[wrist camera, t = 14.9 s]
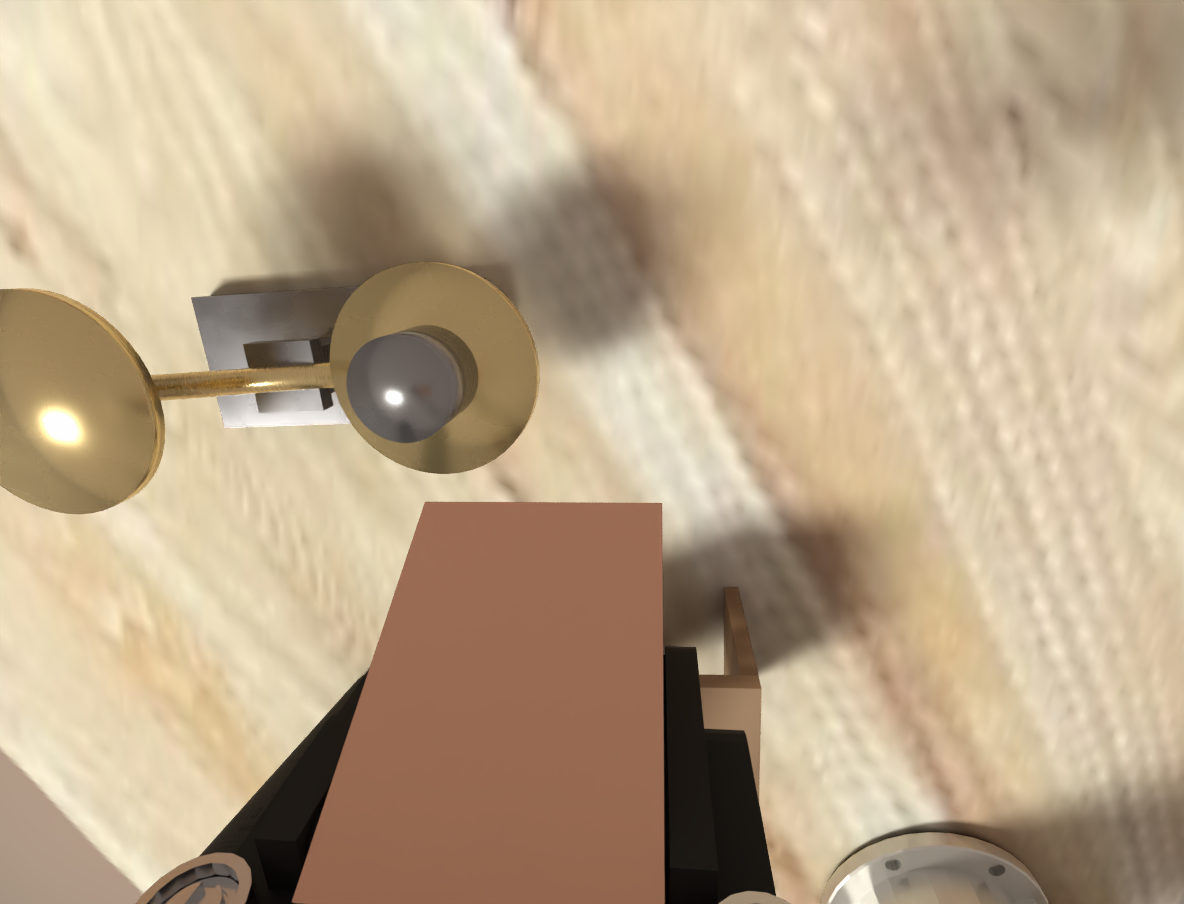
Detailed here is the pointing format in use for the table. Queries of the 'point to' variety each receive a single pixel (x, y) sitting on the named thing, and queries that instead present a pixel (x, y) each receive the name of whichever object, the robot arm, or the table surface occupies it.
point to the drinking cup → (267, 792)
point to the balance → (266, 379)
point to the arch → (735, 683)
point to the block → (508, 718)
